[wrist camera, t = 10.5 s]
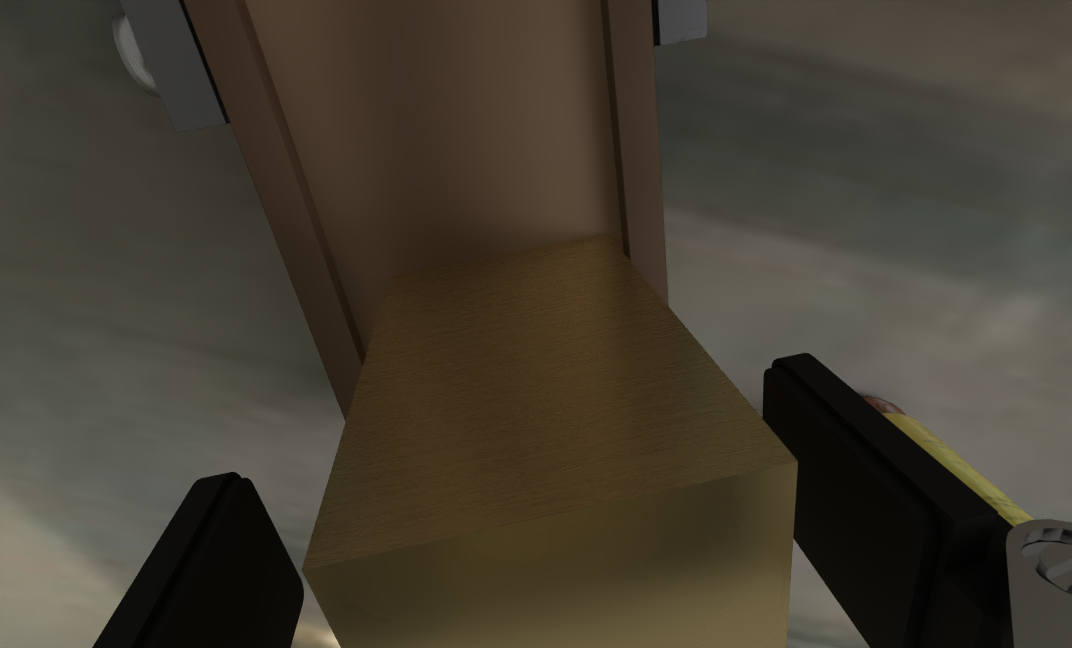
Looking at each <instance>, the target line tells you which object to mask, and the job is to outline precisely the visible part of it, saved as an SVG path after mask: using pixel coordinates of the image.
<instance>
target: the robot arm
mask: <svg viewBox="0 0 1072 648" xmlns="http://www.w3.org/2000/svg"><path fill="white" fill-rule="evenodd" d="M763 420H764V421H765V423H766V424H767V425H768V426H769V427H770V428H771V430H772V431H773V432H774V433H775V434H776V436H777V437H778V438H779V439H780V440H781V442H782V443H783V444H784V445H785V446H786V448H787V449H788V450H789V451H790V452H791V454H792V455H793V456H794V457H795V458H796V460H797V461H798V470H797V485H796V501H795V517H794V533H793V538H794V540H795V541H796V542H797V544H798V545H799V547H800V548H801V550H802V551H803V552H804V554H805V555H806V557H807V558H808V560H809V561H810V562H811V564H812V565H813V567H814V568H815V570H816V571H817V572H818V574H819V575H820V577H821V578H822V580H823V581H824V582H825V584H826V585H827V587H828V588H829V590H830V591H831V592H832V594H833V595H834V597H835V598H836V600H837V601H838V602H839V604H840V605H841V607H842V608H843V610H844V611H845V612H846V614H847V615H848V617H849V618H850V620H851V621H852V622H853V624H854V625H855V627H856V628H857V630H858V631H859V632H860V634H861V635H862V637H863V638H864V640H865V641H866V642H867V644H868V645H869V647H870V648H1072V522H1065V521H1059V520H1052V519H1042V520H1029V521H1026V522H1023V523H1020V524H1017V525H1016V526H1015V527H1014V526H1012V525H1011V524H1010V523H1009V522H1008V521H1007V520H1005V519H1004V518H1003V517H1002V516H1001V515H999V514H998V511H997V510H996V509H995V508H993V507H992V506H991V505H990V504H989V503H987V502H986V501H985V500H984V499H983V498H982V497H980V496H979V495H978V494H977V493H976V492H974V491H973V490H972V489H971V488H970V487H968V486H967V485H966V484H965V483H964V482H962V481H961V480H960V479H959V478H958V477H956V476H955V475H954V474H953V473H952V472H951V471H949V470H948V469H947V468H946V467H945V466H943V465H942V464H941V463H940V462H939V461H937V460H936V459H935V458H934V457H933V456H931V455H930V454H929V453H928V452H927V451H925V450H924V449H923V448H922V447H921V446H920V445H918V444H917V443H916V442H915V441H914V440H912V439H911V438H910V437H909V436H908V435H906V434H905V433H904V432H903V431H902V430H900V429H899V428H898V427H897V426H896V425H894V424H893V423H892V422H891V421H890V420H889V419H887V418H886V417H885V416H884V415H883V414H881V413H880V412H879V411H878V410H877V409H875V408H874V407H873V406H872V405H871V404H869V403H868V402H867V401H866V400H865V399H864V398H862V397H861V396H860V395H859V394H858V393H856V392H855V391H854V390H853V389H852V388H850V387H849V386H848V385H847V384H846V383H844V382H843V381H842V380H841V379H840V378H838V377H837V376H836V375H835V374H834V373H833V372H831V371H830V370H829V369H828V368H827V367H825V366H824V365H823V364H822V363H821V362H819V361H818V360H817V359H816V358H815V357H813V356H812V355H810V354H809V353H802V354H797V355H793V356H788V357H783V358H778V359H776V360H774V361H773V363H772V368H769V369H767V370H765V372H764V385H763ZM303 600H304V589H303V584H302V581H301V579H300V577H299V575H298V573H297V571H296V569H295V567H294V565H293V563H292V561H291V559H290V557H289V555H288V553H287V551H286V549H285V547H284V545H283V543H282V541H281V539H280V537H279V535H278V533H277V531H276V529H275V527H274V525H273V523H272V521H271V519H270V517H269V515H268V513H267V511H266V509H265V507H264V505H263V503H262V501H261V499H260V497H259V495H258V493H257V491H256V489H255V487H254V485H253V483H252V482H251V480H250V479H248V478H241V476H240V475H239V474H237V473H236V472H229V473H225V474H220V475H215V476H210V477H205V478H201V479H199V480H197V481H196V482H195V483H194V484H193V486H192V487H191V489H190V491H189V492H188V494H187V495H186V497H185V499H184V500H183V502H182V504H181V505H180V507H179V508H178V510H177V512H176V513H175V515H174V516H173V518H172V520H171V521H170V523H169V525H168V526H167V528H166V529H165V531H164V533H163V534H162V536H161V537H160V539H159V541H158V542H157V544H156V546H155V547H154V549H153V550H152V552H151V554H150V555H149V557H148V558H147V560H146V562H145V563H144V565H143V567H142V568H141V570H140V571H139V573H138V575H137V576H136V578H135V579H134V581H133V583H132V584H131V586H130V588H129V589H128V591H127V592H126V594H125V596H124V597H123V599H122V600H121V602H120V604H119V605H118V607H117V609H116V610H115V612H114V613H113V615H112V617H111V618H110V620H109V621H108V623H107V625H106V626H105V628H104V630H103V631H102V633H101V634H100V636H99V638H98V639H97V641H96V643H95V644H94V646H93V647H92V648H290V647H291V644H292V640H293V637H294V633H295V629H296V626H297V622H298V619H299V615H300V612H301V608H302V605H303Z"/></svg>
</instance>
